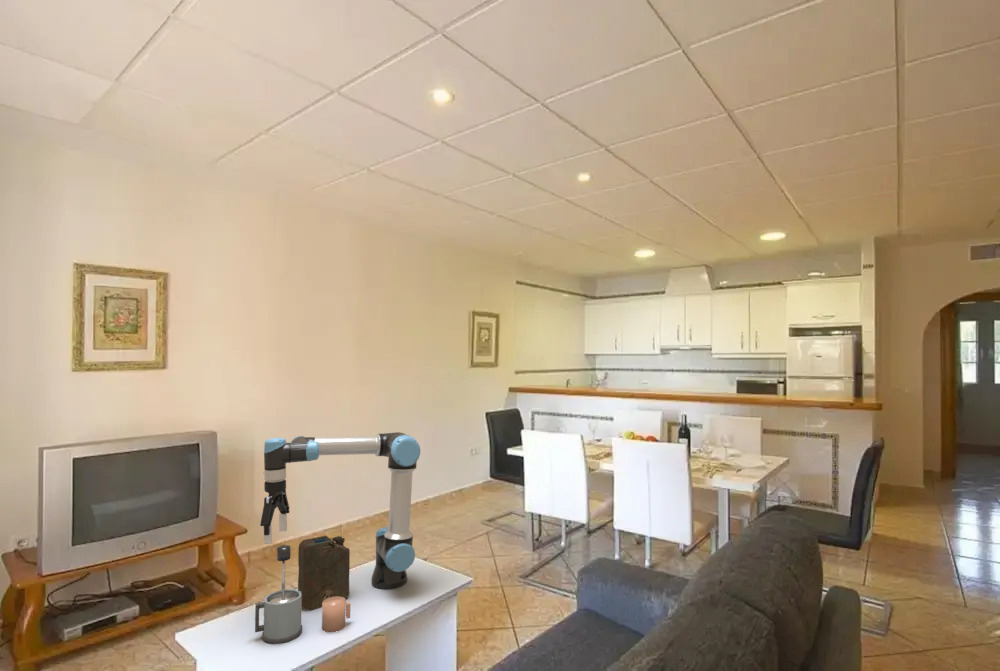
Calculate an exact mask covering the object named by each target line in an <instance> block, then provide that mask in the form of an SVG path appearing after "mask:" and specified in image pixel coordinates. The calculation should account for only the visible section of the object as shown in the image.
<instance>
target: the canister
mask: <svg viewBox="0 0 1000 671" xmlns="http://www.w3.org/2000/svg"><path fill="white" fill-rule="evenodd" d="M345 541H346V540H345V537H343V536H341V535H339V536H335V537H332V538H331V537H328V535H322V536H317V537H312V538H307V539H303V540H301V541H300V543H299V544H298V551H297V552H298V558H297V559H298V564H297V565H298V577H297V590H298V591H300V592H301V595H302V607H301V608H302V609H304V610H306V611H312V610H313V611H314V610H315V609H316V610H317V609H319V608H322V602H323V601H324V600H325V599H327V598H330V597H335V596H340V597H344V598H345V600H346V599H348V597H349V595H350V569H351V568H350V567H351V566H350V564H351V562H350V554H351V553H350V548H349V547H346V546H345V545H344V543H345Z"/></svg>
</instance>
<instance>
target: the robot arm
mask: <svg viewBox="0 0 1000 671" xmlns="http://www.w3.org/2000/svg"><path fill="white" fill-rule="evenodd" d="M263 445H264V447H263V449H264V450H263V457H264V459H263V460H264V461H263V462H264V463H263V464H264V470H263V473H262V474H264V482H263V483H264V492H265V493H267V494H268V497H267V496H266V497H264V501H263V508H262V513H261V520H260V524H259V526H260V527H263V545H268V544H269V545H271V544H273V524H272V521H273V518H274V513H275V511H276V509H278V511H279V514H278V526H279V527H278V528H279V529H278V532H287V531H288V514H289V513H290V505H289V501H288V498H287V497H288V495H287V492H286V490H287V480H286V479H287V464H290V463H291V464H292V463H300V462H303V463H304V462H311V461H318V459H319V458H320V456H340V455H341V456H342V455H343V456H344V455H345V456H347V455H350V456H351V455H375V456H376V457H387V458H388V459H387V460H388V462H387V463H388V464H387V469H388V470H390V472H391V474H390V494H389V509H388V510H389V511H388V512H389V513H388V526H384V527H380V528H378V529H377V530H376V532H375V566H374V570H373V573H372V575H371V585H372V587H374V588H375V589H376V588H377V589H381V590H390V589H397V588H399V587H402V586H404V585H405V584H407V582H408V574H407V570H408V569H410V567H411V566H412V565H413V564H414V561H415V559H416V558H415V557H416V552H415V548H414V547H413V544H414V543H413V541H414V540H413V538H414V537H413V536H414V534H413V533H412V531H411V530H410V525H411V508H412V505H411V504H412V489H413V486H412V485H413V472H414V471H415V470H416V469H417V463H418V462H417V461H418V460H419V459H420V456H421V446H420V444H419V442H418V441H417V440H416V438H414V437H413V436H411V435H408V434H406V433H403V432H399V431H398V432H397V431H396V432H388V433H387V432H384V433H377V434H375V435H370V436H368V435H367V436H366V435H363V436H361V435H360V436H359V435H358V436H314V437H313V436H312V437H311V436H309V437H308V436H307V437H305V436H302V435H299V436H295V437H294V438H293V439H292V440H291V442H287V441H286V438H284V437H272V438H268V439H266V440H265V441H264V444H263Z"/></svg>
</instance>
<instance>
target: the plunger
mask: <svg viewBox="0 0 1000 671" xmlns="http://www.w3.org/2000/svg"><path fill="white" fill-rule="evenodd" d="M290 559H291V545H289V544H283V545H279V546H277V548H276V561H277V562H281V590H282V593H279V594H276V595H274V596H272V597H270V599H269V602H270V603H276V604H280V603H286V602H289V601H292V600H294V599H296V598H297V594H295V593H292V592H285V589H286V588H285V587H286V583H285V582H286V561H289V560H290Z"/></svg>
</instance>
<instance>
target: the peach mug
mask: <svg viewBox="0 0 1000 671" xmlns="http://www.w3.org/2000/svg"><path fill="white" fill-rule="evenodd" d="M321 608H322V609H321V611H322V612H321V629H322V631H323V632H324V631H325V633H337V632H339V631H341V630H344V629H345V627H346V619H347V620H348V619H351V601H346V599H345V598H344V597H340V596H335V597H330V598H327V599H325V600H324V601H323V602H322V607H321ZM336 631H337V632H336Z"/></svg>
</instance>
